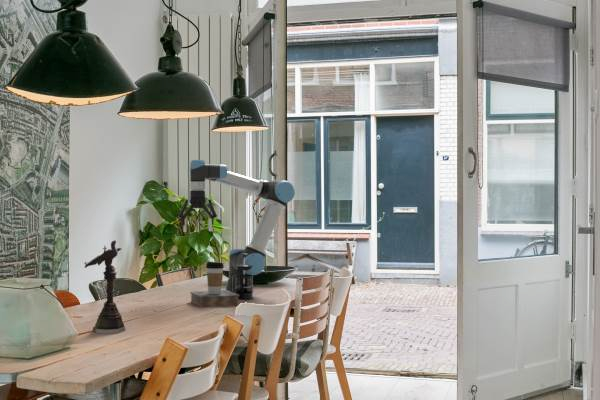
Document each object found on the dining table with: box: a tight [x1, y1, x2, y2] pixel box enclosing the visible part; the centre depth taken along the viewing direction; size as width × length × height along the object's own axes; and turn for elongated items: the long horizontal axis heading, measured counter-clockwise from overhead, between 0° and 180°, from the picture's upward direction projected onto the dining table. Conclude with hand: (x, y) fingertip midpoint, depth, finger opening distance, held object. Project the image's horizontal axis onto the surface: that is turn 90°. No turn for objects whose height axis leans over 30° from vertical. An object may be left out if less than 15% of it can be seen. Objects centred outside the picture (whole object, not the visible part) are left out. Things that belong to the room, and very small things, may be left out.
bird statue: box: [84, 240, 126, 335], centre depth 275 cm, size 17×13×35 cm
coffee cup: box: [205, 261, 225, 294], centre depth 349 cm, size 8×8×15 cm
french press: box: [231, 253, 254, 301], centre depth 368 cm, size 12×9×23 cm
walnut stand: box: [189, 289, 240, 308], centre depth 349 cm, size 19×19×5 cm
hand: (197, 231), depth 371 cm, fingers open, 13 cm apart
